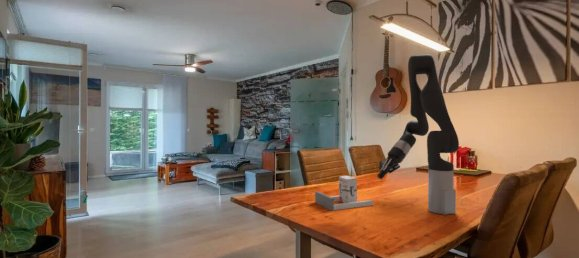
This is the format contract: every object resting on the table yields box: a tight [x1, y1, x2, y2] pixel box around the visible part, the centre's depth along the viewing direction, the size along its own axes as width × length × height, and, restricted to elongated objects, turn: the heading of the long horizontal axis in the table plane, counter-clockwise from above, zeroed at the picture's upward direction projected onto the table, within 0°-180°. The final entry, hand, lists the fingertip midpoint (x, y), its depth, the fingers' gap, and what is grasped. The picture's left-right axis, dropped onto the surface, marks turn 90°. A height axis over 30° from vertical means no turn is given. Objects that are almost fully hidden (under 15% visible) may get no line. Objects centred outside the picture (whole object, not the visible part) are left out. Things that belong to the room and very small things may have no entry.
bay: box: [314, 190, 374, 211], centre depth 135 cm, size 14×22×5 cm, turn 112°
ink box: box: [338, 175, 358, 203], centre depth 136 cm, size 9×5×12 cm, turn 18°
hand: (379, 177), depth 142 cm, fingers closed
